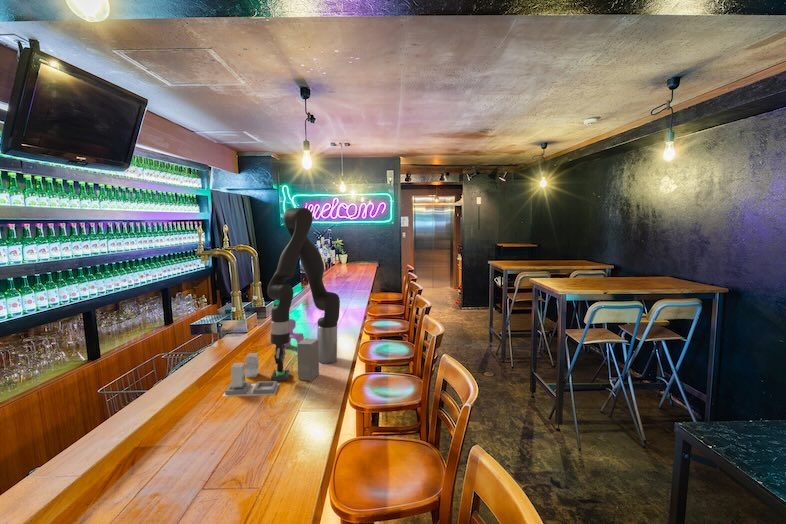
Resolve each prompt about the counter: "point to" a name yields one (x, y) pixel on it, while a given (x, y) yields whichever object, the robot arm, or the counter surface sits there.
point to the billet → (252, 365)
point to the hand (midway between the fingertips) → (280, 371)
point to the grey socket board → (254, 389)
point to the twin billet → (238, 376)
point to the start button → (280, 373)
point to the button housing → (280, 376)
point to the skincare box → (308, 359)
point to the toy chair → (294, 333)
